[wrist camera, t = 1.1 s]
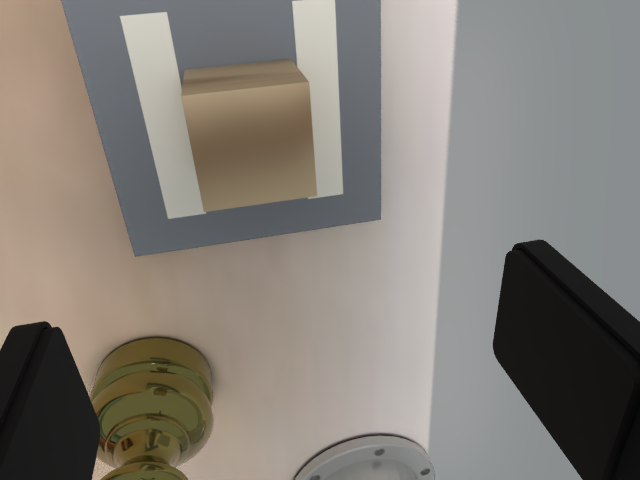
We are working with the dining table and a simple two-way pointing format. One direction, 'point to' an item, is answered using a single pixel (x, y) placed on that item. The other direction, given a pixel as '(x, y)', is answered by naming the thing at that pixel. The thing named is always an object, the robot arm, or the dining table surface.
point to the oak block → (250, 133)
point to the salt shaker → (152, 409)
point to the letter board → (220, 50)
